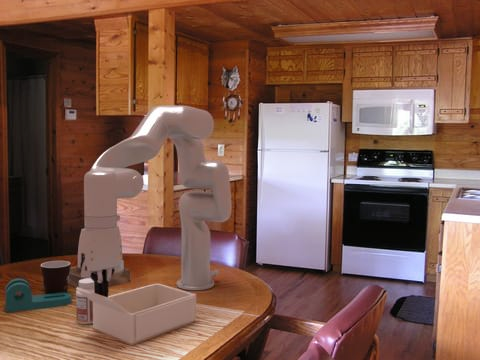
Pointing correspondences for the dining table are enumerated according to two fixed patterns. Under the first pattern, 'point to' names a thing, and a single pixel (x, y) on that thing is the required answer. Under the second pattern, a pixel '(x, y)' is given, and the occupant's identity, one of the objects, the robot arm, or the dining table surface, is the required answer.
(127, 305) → the carton
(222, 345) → the dining table surface
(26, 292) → the bracket
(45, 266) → the coffee mug
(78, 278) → the open square frame
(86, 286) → the pill bottle
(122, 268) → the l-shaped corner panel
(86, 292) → the end flap
